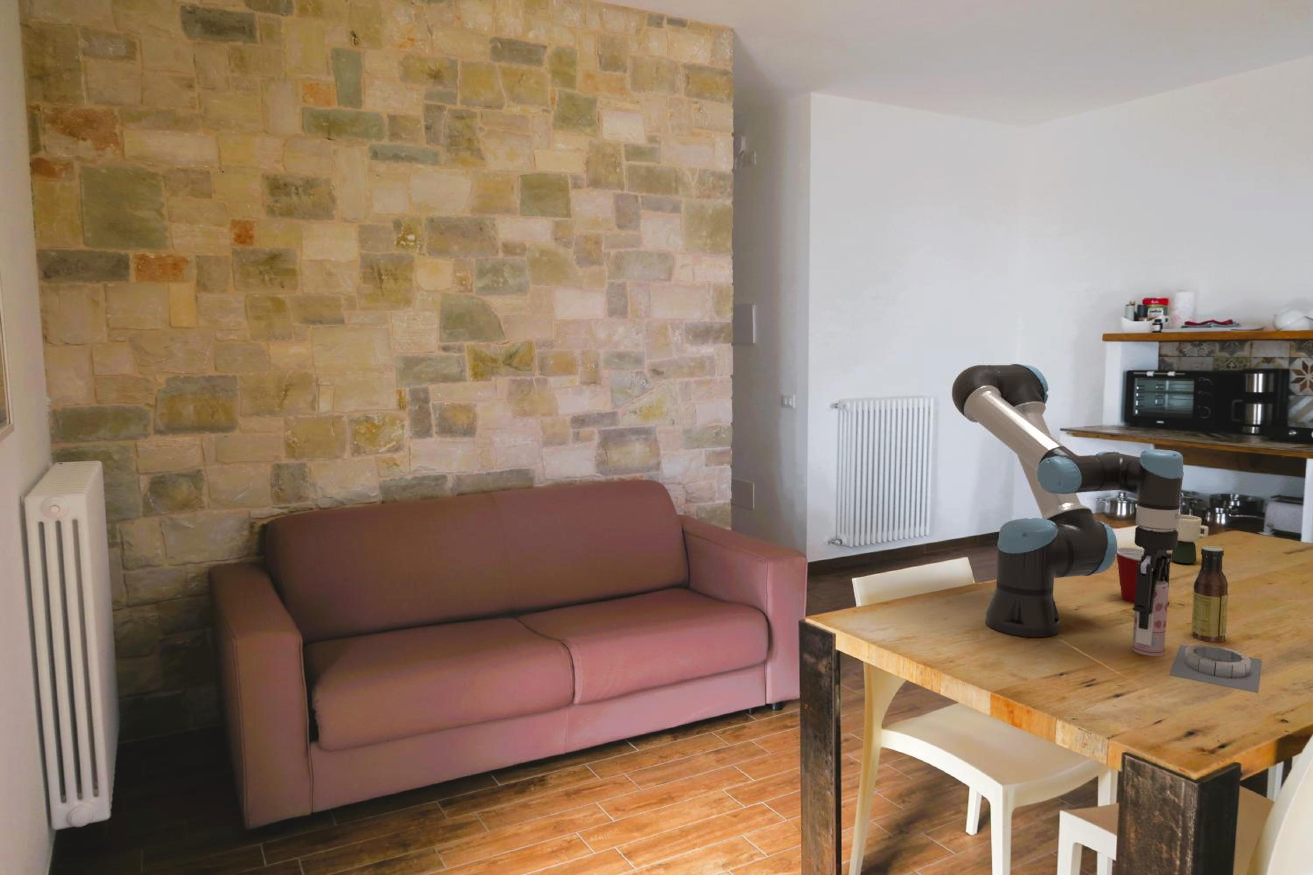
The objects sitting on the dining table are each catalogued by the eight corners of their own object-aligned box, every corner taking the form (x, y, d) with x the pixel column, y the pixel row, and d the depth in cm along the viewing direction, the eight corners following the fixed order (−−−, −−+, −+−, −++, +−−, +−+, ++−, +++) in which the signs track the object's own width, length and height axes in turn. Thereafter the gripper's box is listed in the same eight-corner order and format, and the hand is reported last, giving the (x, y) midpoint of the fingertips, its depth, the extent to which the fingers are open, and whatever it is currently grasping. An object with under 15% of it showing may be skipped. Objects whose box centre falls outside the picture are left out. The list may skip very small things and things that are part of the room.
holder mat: (1257, 695, 161) (1258, 692, 161) (1168, 677, 169) (1169, 674, 169) (1261, 661, 177) (1261, 659, 177) (1180, 646, 185) (1180, 644, 185)
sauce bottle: (1212, 634, 193) (1220, 544, 190) (1232, 644, 186) (1240, 551, 184) (1182, 634, 192) (1190, 544, 190) (1201, 644, 186) (1209, 551, 184)
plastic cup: (1157, 610, 209) (1161, 560, 207) (1107, 601, 215) (1110, 552, 214) (1165, 598, 217) (1168, 550, 216) (1115, 590, 224) (1119, 544, 222)
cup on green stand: (1209, 563, 249) (1212, 518, 248) (1201, 568, 245) (1205, 522, 243) (1166, 556, 257) (1169, 512, 256) (1157, 561, 252) (1161, 515, 251)
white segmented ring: (1213, 679, 167) (1214, 666, 167) (1172, 658, 177) (1173, 646, 177) (1262, 675, 169) (1263, 662, 168) (1219, 655, 179) (1220, 643, 178)
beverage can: (1127, 652, 182) (1132, 581, 180) (1137, 645, 185) (1142, 575, 184) (1158, 660, 178) (1164, 586, 176) (1167, 652, 181) (1173, 581, 180)
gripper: (1162, 538, 169) (1153, 656, 172) (1191, 523, 182) (1183, 633, 185) (1120, 531, 174) (1112, 646, 177) (1151, 517, 187) (1143, 624, 190)
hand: (1148, 639), depth 181 cm, fingers closed on beverage can, 6 cm apart
